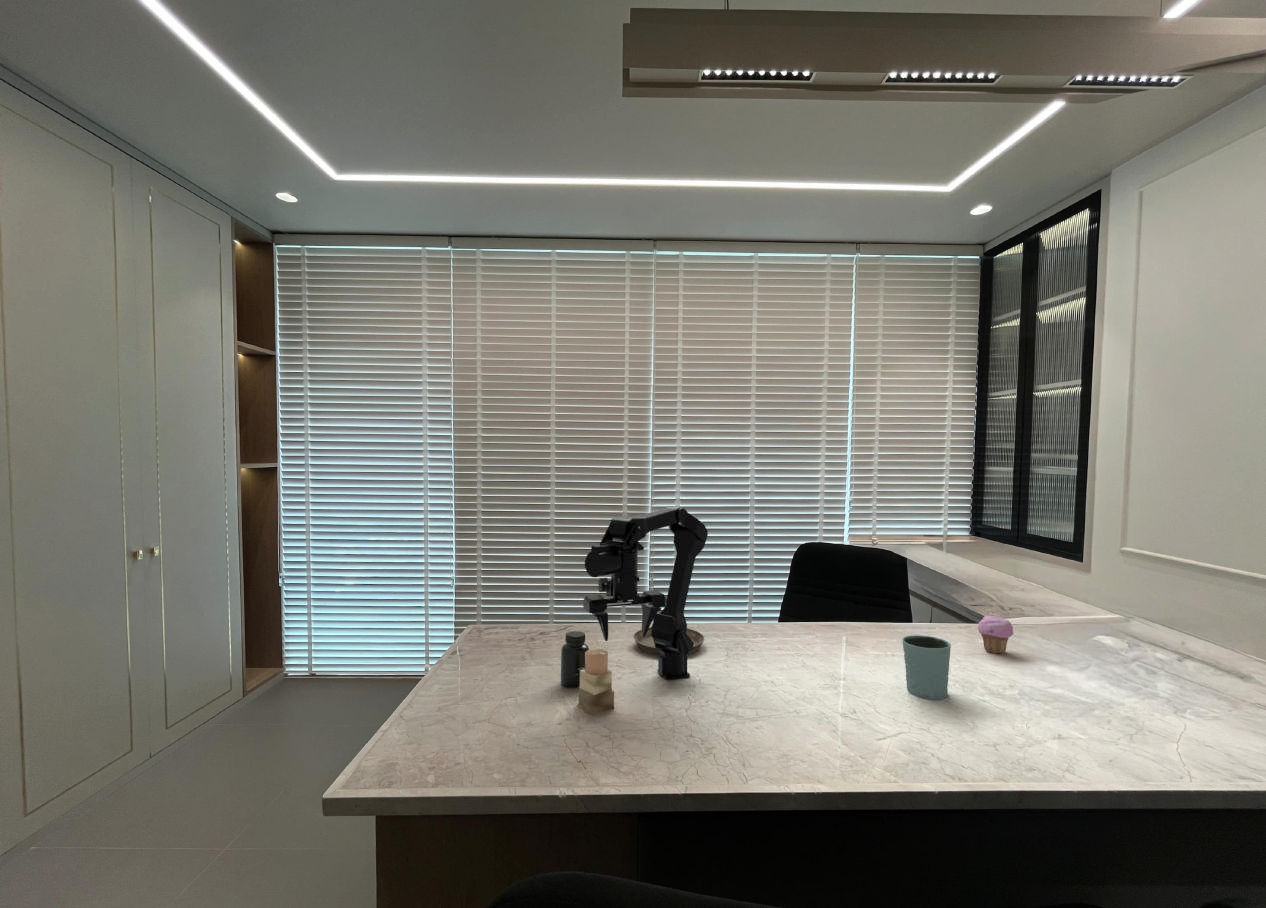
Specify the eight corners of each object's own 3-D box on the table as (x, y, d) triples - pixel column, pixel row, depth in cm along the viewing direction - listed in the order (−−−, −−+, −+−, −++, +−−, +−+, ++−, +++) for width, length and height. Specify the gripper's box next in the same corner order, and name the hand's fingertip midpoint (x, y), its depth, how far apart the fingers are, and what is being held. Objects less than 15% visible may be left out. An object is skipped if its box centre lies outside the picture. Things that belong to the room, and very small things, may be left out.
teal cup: (956, 692, 139) (956, 641, 139) (943, 705, 131) (943, 651, 131) (910, 681, 146) (910, 632, 146) (896, 692, 138) (896, 641, 138)
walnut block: (603, 699, 134) (603, 682, 134) (614, 709, 129) (614, 691, 129) (578, 704, 132) (578, 686, 132) (588, 714, 126) (588, 695, 126)
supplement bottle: (584, 689, 140) (584, 638, 140) (556, 687, 141) (557, 636, 141) (592, 678, 146) (592, 630, 147) (565, 676, 148) (566, 628, 148)
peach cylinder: (604, 665, 133) (604, 648, 133) (610, 673, 129) (610, 655, 129) (583, 667, 132) (583, 650, 132) (587, 675, 127) (587, 657, 127)
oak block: (597, 682, 134) (597, 665, 134) (611, 689, 130) (611, 670, 130) (579, 688, 130) (579, 670, 131) (594, 695, 127) (594, 676, 127)
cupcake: (979, 644, 175) (979, 610, 175) (1014, 650, 170) (1014, 615, 170) (976, 652, 167) (976, 617, 168) (1012, 658, 162) (1012, 622, 162)
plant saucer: (708, 659, 162) (708, 647, 162) (633, 658, 162) (633, 646, 162) (700, 636, 182) (700, 626, 182) (633, 636, 183) (633, 625, 183)
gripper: (649, 563, 148) (649, 625, 148) (577, 567, 141) (576, 632, 141) (667, 570, 137) (667, 638, 137) (590, 576, 131) (590, 646, 131)
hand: (625, 638), depth 137 cm, fingers open, 9 cm apart
